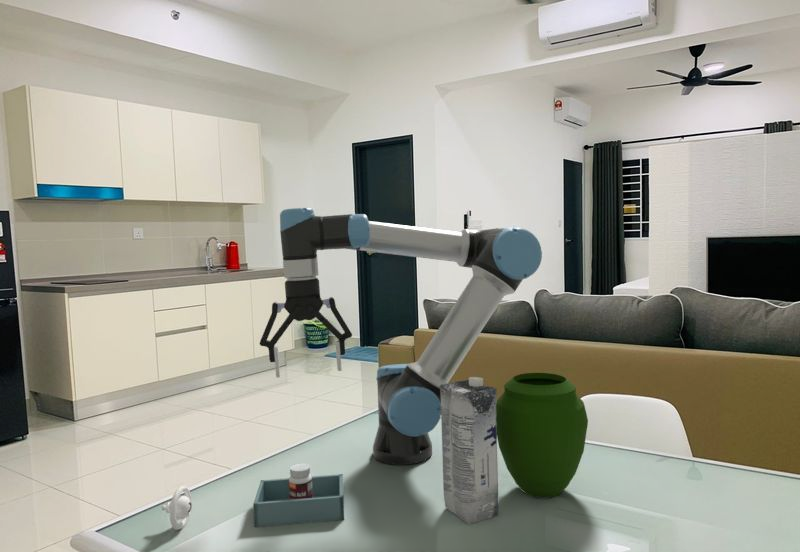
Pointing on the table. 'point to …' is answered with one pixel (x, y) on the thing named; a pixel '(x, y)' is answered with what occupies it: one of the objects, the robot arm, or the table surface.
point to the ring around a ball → (179, 507)
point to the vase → (541, 432)
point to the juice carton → (469, 449)
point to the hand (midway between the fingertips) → (309, 373)
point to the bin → (299, 502)
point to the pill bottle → (300, 482)
